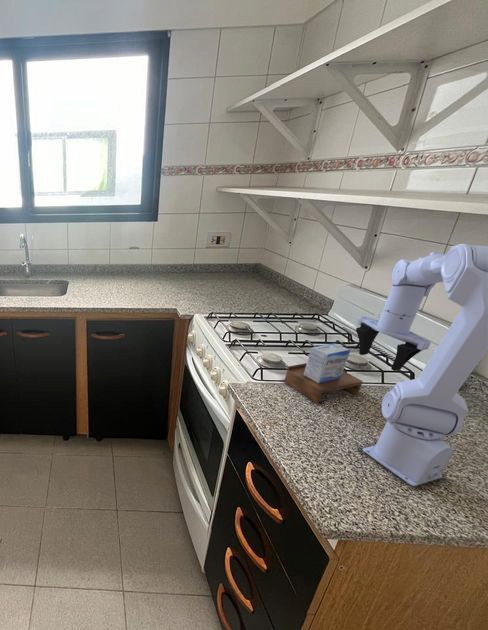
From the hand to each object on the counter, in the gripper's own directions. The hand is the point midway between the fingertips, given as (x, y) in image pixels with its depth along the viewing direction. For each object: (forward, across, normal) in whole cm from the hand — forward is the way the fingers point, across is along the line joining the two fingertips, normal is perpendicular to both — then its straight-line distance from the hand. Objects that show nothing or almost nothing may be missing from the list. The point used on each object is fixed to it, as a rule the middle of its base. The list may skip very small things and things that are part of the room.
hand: (378, 361), depth 86 cm
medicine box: (+7, +6, +10) cm, 13 cm away
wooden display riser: (+10, +6, +8) cm, 14 cm away
